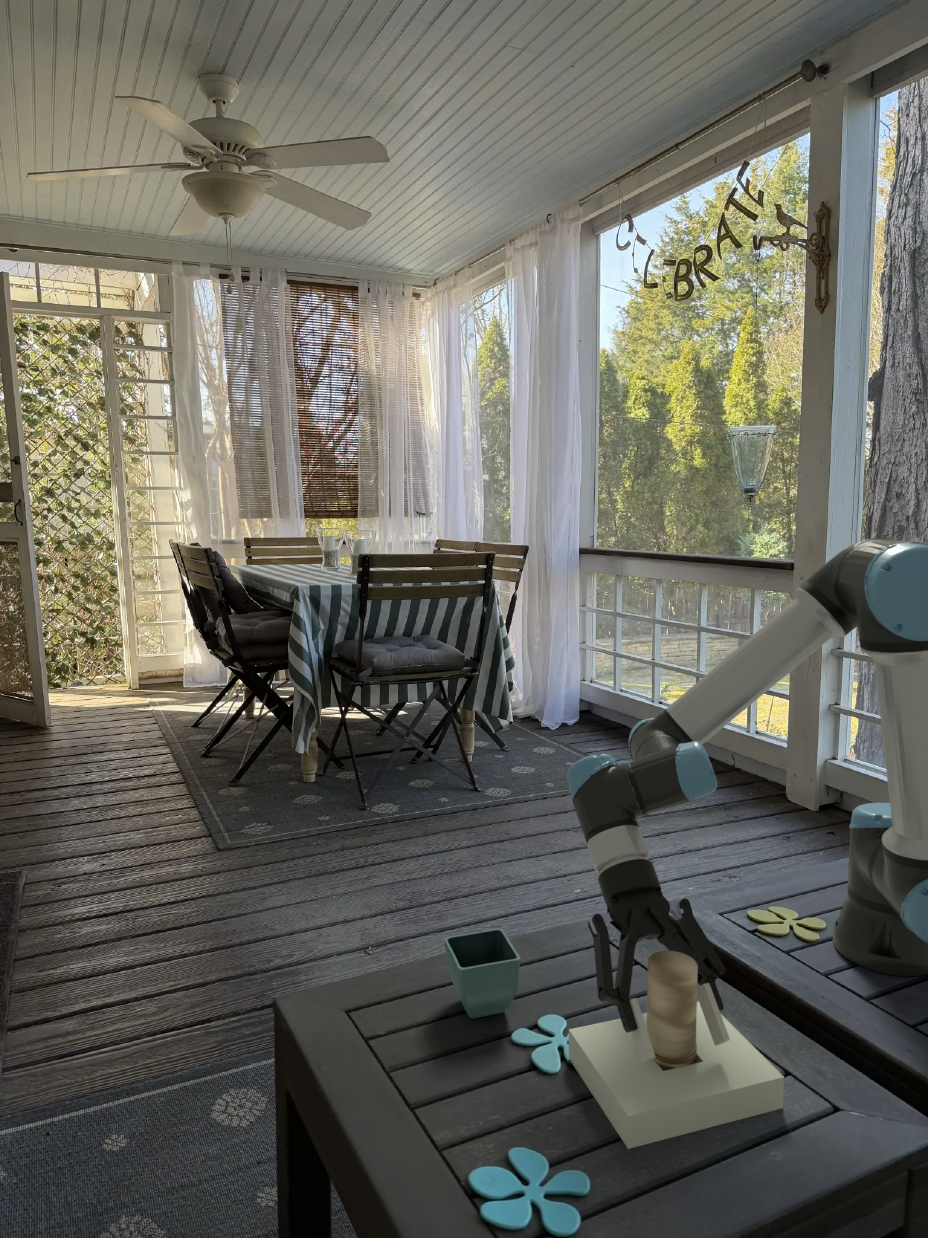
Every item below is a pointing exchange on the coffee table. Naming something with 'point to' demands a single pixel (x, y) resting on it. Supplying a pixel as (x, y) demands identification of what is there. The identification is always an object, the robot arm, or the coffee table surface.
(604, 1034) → the sage board
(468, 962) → the flower pot
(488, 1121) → the coffee table surface
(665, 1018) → the tan wooden cylinder
